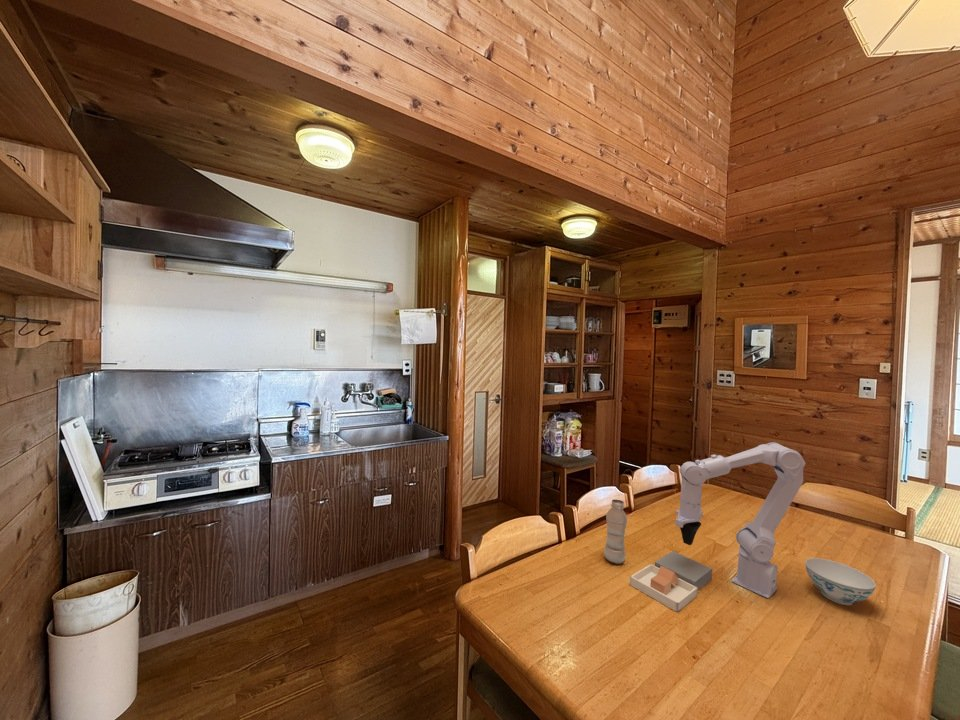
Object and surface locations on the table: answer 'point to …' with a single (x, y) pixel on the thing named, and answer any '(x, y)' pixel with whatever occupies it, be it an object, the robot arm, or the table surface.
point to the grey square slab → (686, 569)
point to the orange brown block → (668, 575)
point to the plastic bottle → (615, 532)
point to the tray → (673, 599)
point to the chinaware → (839, 581)
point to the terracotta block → (661, 584)
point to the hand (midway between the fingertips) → (687, 543)
